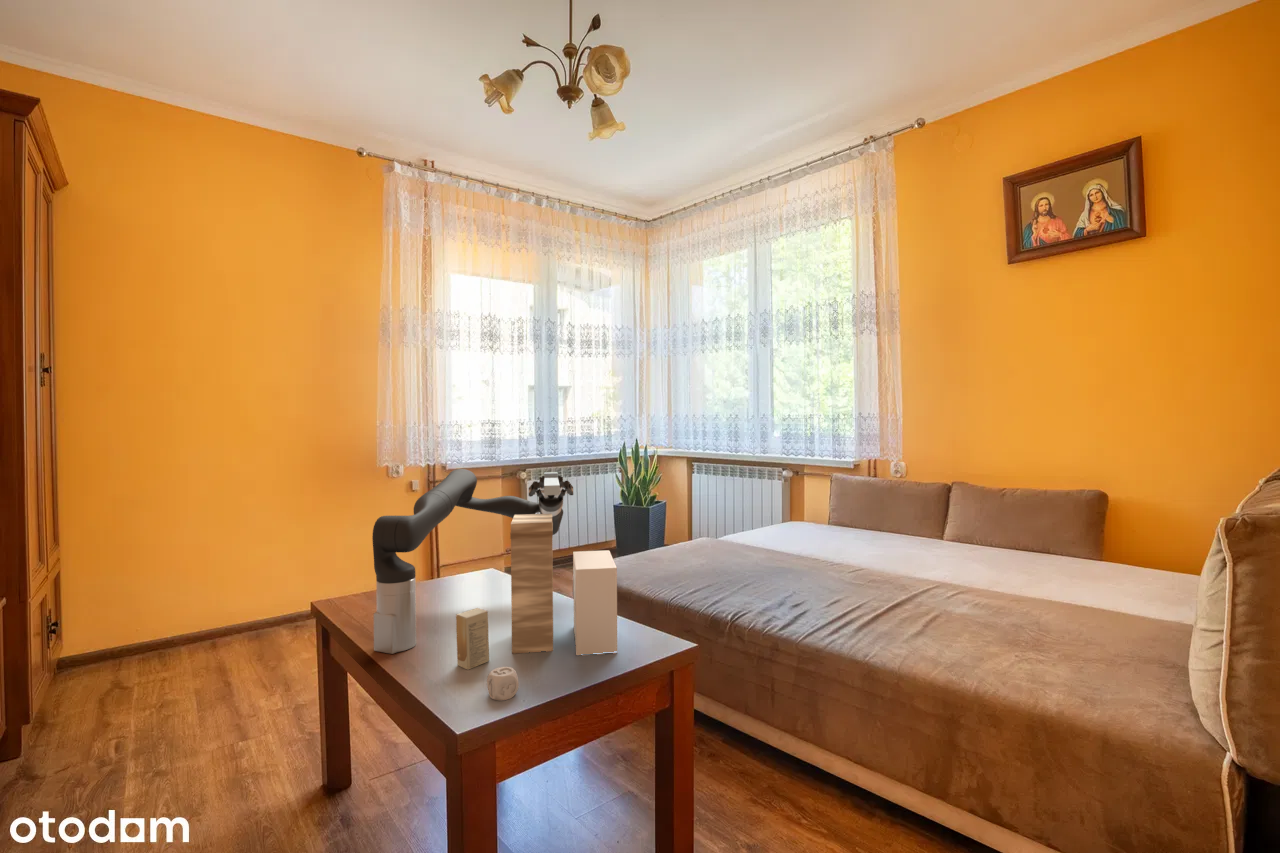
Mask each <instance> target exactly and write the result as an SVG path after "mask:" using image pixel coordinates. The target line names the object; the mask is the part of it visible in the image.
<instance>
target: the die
mask: <svg viewBox="0 0 1280 853" xmlns="http://www.w3.org/2000/svg"><path fill="white" fill-rule="evenodd" d="M486 679H487V680H486V687H487V692H488V695H489V696H490V699H492V700H494V701H499V702H500V701H502V702H503V701H507V700H510V699H512V698H513V697H514V696H515V695H516V694H517V693H518V691H519V687H520V686H519V677H518V673H517V671H516V670H515V669H514V668H513V667H511V666H499V667H496V668H493V669H492V670H491V671H489V674H488V675H487V678H486Z"/></svg>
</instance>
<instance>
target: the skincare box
mask: <svg viewBox="0 0 1280 853" xmlns="http://www.w3.org/2000/svg"><path fill="white" fill-rule="evenodd" d="M488 613H489V611H488V610H485V609H482V608H480V607H475V608H473V609H468V610H466V611H462V612H460V613H457V614H455V615H456V616H455V617H456V619H455V620H456V623H455V625H456V628H455V629H456V657H457V659H456V662H457V666H459V667H461V668H462V669H465V670H471V669H473V668H476V667H478V666H480V665H483V664H485V663H487V662H489V661H490V647H489V646H490V645H489V614H488Z"/></svg>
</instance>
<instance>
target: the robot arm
mask: <svg viewBox="0 0 1280 853" xmlns="http://www.w3.org/2000/svg"><path fill="white" fill-rule="evenodd" d="M544 479H545V478H544V475H542V476H541V477H539V481H536V480H535V481H533V482H532V483H531V485H530V486H529V487H528V497H533V496H537V497H538V502H534V501H530V500H528V499H525V498H522V497H518V496H515V495H503V496H499V497H494V498H493V497H491V498H478V497H473V495H474V493H475V490H476V486H477V485H478V484H477V483H478V478H477V475H476V474H475V473H474V472H473V471H471V470H469V469H465V468H457V469H453V470H452V471H450V472H449V473H448V475H446V477H445V478H444V479H443V480H442V481H440V482H439V483H438V484H436V485H435V486H434V487H433V488H432V489H429V490H428V491H426V492H425V493H424V494H422V495H421V496H420V497H419V498H417V500H416V501H415V503H414V506H413V514H412V515H382V516H379V517H378V518H377V519H376V520H375V522H374V525H373V529H372V535H371V536H372V538H371V539H372V540H371V541H372V550H373V553H372V554H373V569H374V573H375V576H376V582H375V583H376V584H375V586H376V611H375V612H374V613H373V651H375V652H381V653H386V654H391V655H393V654H395V653H399V652H405V651H406V650H407V651H408V650H410V649H412V648H414V647H415V646H416V645H417V603H416V601H417V600H416V590H417V589H416V588H417V587H416V584H417V583H416V576H417V575H416V566H415V565H413V564H412V563H409V562H407V561H405V560H403V559H401V557H399V556H398V554H397V553H411V552H413V551H415V550H416V549H417V548H418V547H420V546H421V544H422V543H423V542H424V540H425V539H427V538H426V537H427V536H429V534H430V533H431V532H432V531H433V530H434V529H435V527H437V526H438V525H440V523H441V522H443V521H444V520H445V519H446V518H447V517H449V516H450V514H451V513H452V512H453V510H454V509H455V507H458V508H464V509H469V510H474V511H480V512H485V513H491V514H496V515H501V516H505V517H509V518H510V519H513V517H514V515H522V514H552V522H553V536H555V535H556V534H557V533H558V531H559V530H560V527H561V523H562V519H563V516H564V510H563V506H564V505H563V504H564V497H565V496H566V495H568V496H574V486H573V485H572V483H570V481H569V480H564V478H563V476H561V474H560V475H559V474H558V480H559V484H560V495H544Z"/></svg>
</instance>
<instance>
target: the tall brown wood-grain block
mask: <svg viewBox="0 0 1280 853" xmlns="http://www.w3.org/2000/svg"><path fill="white" fill-rule="evenodd" d="M509 533H510V538H509V539H510V569H511V570H510V574H511V575H510V577H511V578H510V579H511V581H510V585H511V586H510V587H511V590H510V592H511V593H510V595H511V597H510V598H511V654H526V653H527V654H529V652H530V653H542V652H541V651H546V652H554V590H553V588H554V581H553V580H554V579H553V578H554V576H553V575H554V574H553V573H554V572H553V571H554V568H553V567H554V565H553V564H554V563H553V562H554V561H553V560H554V559H553V558H554V557H553V537H554V535H553V522H552V514H540V513H535V514H522V515H514V517H513V518H512V521H511V522H510V532H509Z"/></svg>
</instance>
